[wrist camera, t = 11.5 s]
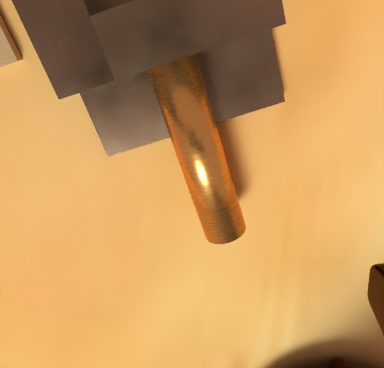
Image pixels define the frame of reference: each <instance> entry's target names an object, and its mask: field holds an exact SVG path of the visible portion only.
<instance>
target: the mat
mask: <svg viewBox="0 0 384 368" xmlns="http://www.w3.org/2000/svg"><path fill="white" fill-rule="evenodd" d="M19 60H22V57H21V55H20V53H19V51H18V49H17V47H16V45H15V43H14V41H13V39H12V37H11V35H10V33H9V31H8V29H7V27H6V25H5V23H4V21H3V19H2V17H1V15H0V67H2V66H4V65H7V64H10V63H13V62H16V61H19Z"/></svg>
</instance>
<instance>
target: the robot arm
mask: <svg viewBox="0 0 384 368" xmlns="http://www.w3.org/2000/svg"><path fill="white" fill-rule="evenodd" d="M368 300H369V303H370V305H371V308H372V310H373V312H374V314H375V317H376V319H377V321H378V323H379V326H380V328H381V330H382V332H383V335H384V263H382V264H375V265H373V266H372V267H371V269H370V275H369V284H368Z"/></svg>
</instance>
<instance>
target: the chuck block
mask: <svg viewBox="0 0 384 368" xmlns="http://www.w3.org/2000/svg"><path fill="white" fill-rule="evenodd" d="M12 2H13V4H14V6H15V8H16V10H17V12H18V14H19V16H20V19H21V21H22V23H23V25H24V27H25V29H26V31H27V33H28V35H29V38H30V40H31V42H32V44H33V46H34V48H35V50H36V52H37V54H38V56H39V59H40V61H41V63H42V65H43V67H44V69H45V71H46V73H47V75H48V77H49V80H50V82H51V84H52V86H53V88H54V90H55V92H56V94H57V96H58V99H62V98H65V97H68V96H71V95H74V94H77V93H80V95H81V97H82V99H83V102H84V104H85V106H86V108H87V111H88V113H89V115H90V117H91V119H92V122H93V124H94V126H95V128H96V131H97V133H98V135H99V137H100V140H101V142H102V144H103V146H104V149H105V151H106V153H107V155H108V156H111V155H114V154H118V153H121V152H124V151H127V150H131V149H134V148H137V147H140V146H143V145H147V144H150V143H153V142H156V141H159V140H163V139H166V138H169V137H170V138H171V141H172V143H173V146H174V149H175V152H176V155H177V158H178V160H179V163H180V166H181V169H182V172H183V174H184V177H185V180H186V183H187V186H188V189H189V191H190V194H191V197H192V200H193V203H194V206H195V208H196V211H197V214H198V217H199V220H200V222H201V225H202V228H203V231H204V234H205V237H206V239H207V240H208V241H209V242H211V243H214V244H225V243H229V242H232V241H234V240H236V239H238V238H239V237H240V236H242V234H243V233H244V232H245V229H246V226H245V222H244V219H243V215H242V212H241V208H240V205H239V201H238V198H237V195H236V191H235V188H234V184H233V181H232V177H231V174H230V170H229V167H228V164H227V160H226V157H225V153H224V150H223V146H222V143H221V139H220V136H219V133H218V129H217V126H216V123H217V122H220V121H224V120H227V119H230V118H233V117H236V116H240V115H243V114H246V113H249V112H253V111H256V110H259V109H262V108H265V107H269V106H272V105H275V104H278V103H281V102H285V100H284V95H283V90H282V85H281V80H280V74H279V69H278V64H277V59H276V54H275V49H274V44H273V39H272V34H271V28H274V27H277V26H280V25H283V24H286V21H285V15H284V10H283V4H282V0H12Z"/></svg>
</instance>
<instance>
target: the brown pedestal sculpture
mask: <svg viewBox="0 0 384 368" xmlns="http://www.w3.org/2000/svg"><path fill="white" fill-rule="evenodd" d="M334 368H349V366H348V365H347V363H346V362H345V361H344V360H342V359H341V358H336V359H335V360H334Z"/></svg>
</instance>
